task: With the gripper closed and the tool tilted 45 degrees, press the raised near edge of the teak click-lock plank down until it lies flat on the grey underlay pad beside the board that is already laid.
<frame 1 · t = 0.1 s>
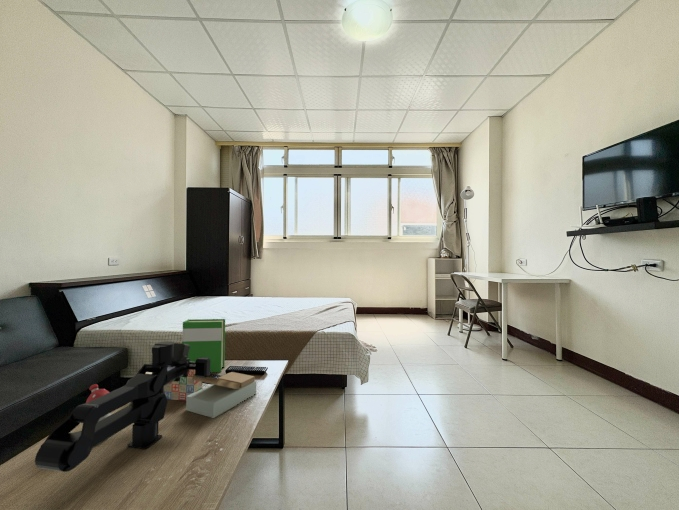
hand: (198, 359, 119), 17 cm above the table, tool horizontal, fingers open, 9 cm apart
decorative ornament: (98, 437, 97), on the table
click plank: (216, 381, 118), point 9 cm above the table, hinge at 26.0°
hardback book: (203, 370, 155), on the table
floor section: (226, 400, 122), on the table
stack of blocks: (172, 396, 126), on the table
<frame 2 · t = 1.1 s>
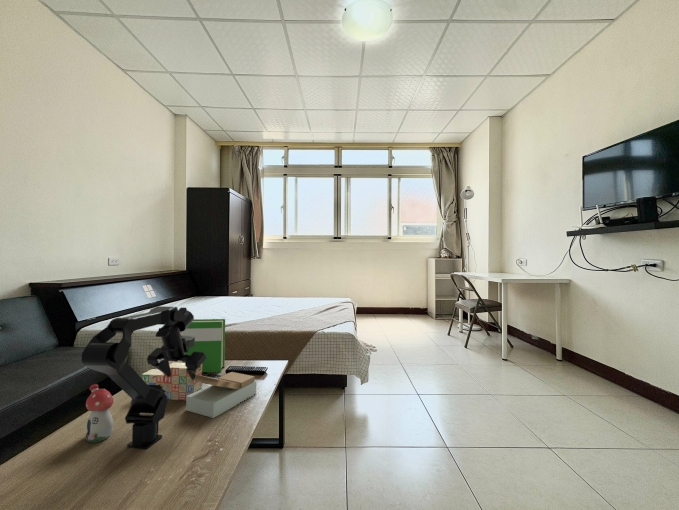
hand: (181, 377, 113), 12 cm above the table, tool tilted 25°, fingers open, 9 cm apart
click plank: (216, 381, 118), point 9 cm above the table, hinge at 25.0°
everything else where it was.
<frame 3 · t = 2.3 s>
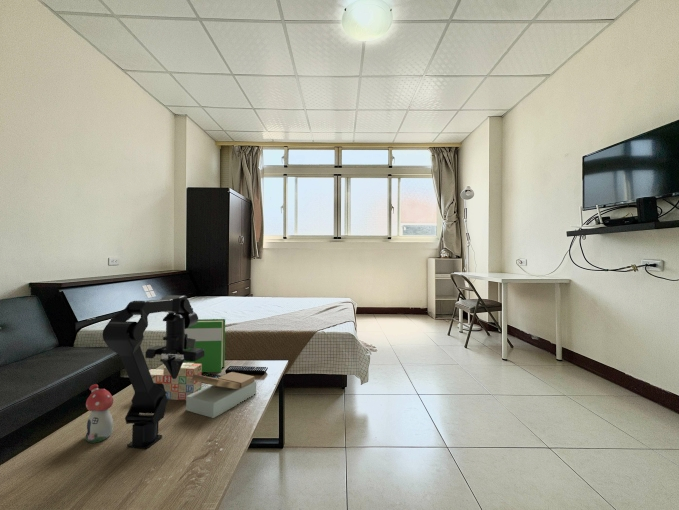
hand: (174, 378, 109), 13 cm above the table, tool pointing down, fingers closed
nothing on the table moved.
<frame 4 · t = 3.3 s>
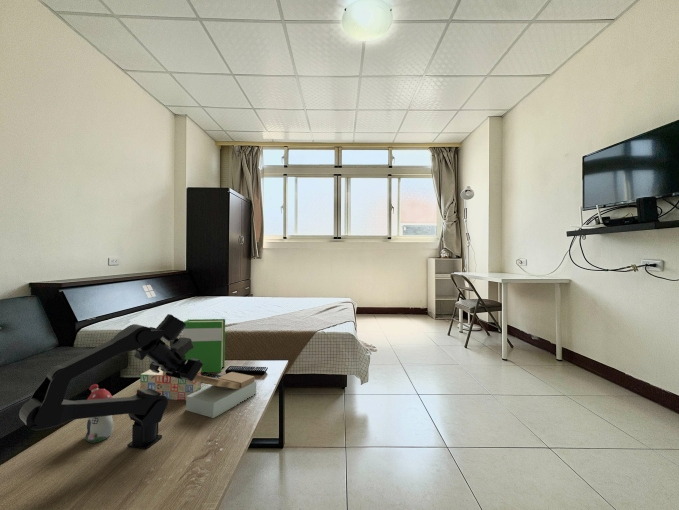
hand: (191, 378, 108), 14 cm above the table, tool tilted 45°, fingers closed
nothing on the table moved.
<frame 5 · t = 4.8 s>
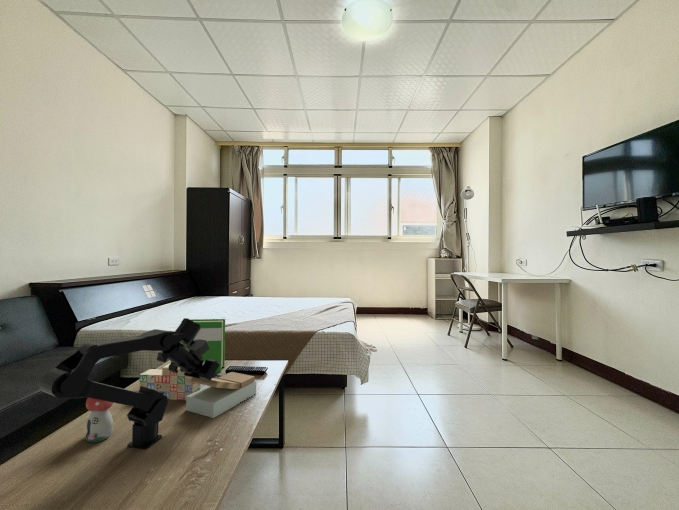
hand: (207, 377, 114), 12 cm above the table, tool tilted 45°, fingers closed, pressing on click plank
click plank: (216, 382, 118), point 8 cm above the table, hinge at 22.3°, touching gripper
everything else where it was.
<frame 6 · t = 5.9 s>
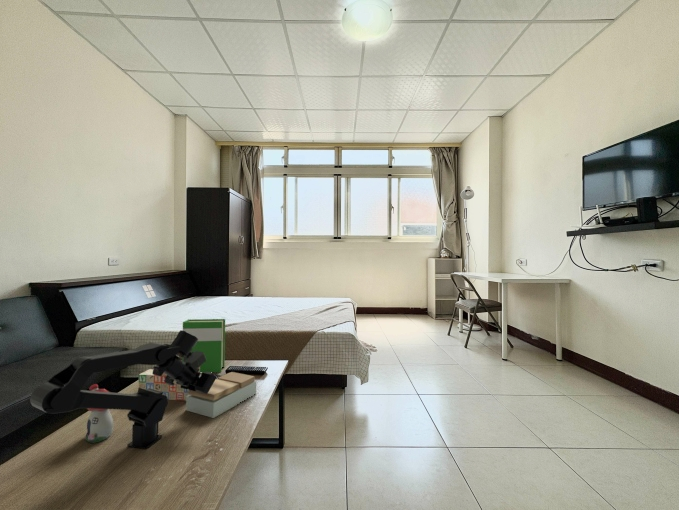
hand: (204, 389, 113), 8 cm above the table, tool tilted 45°, fingers closed, pressing on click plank
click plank: (214, 388, 117), point 6 cm above the table, hinge at 2.0°, touching gripper
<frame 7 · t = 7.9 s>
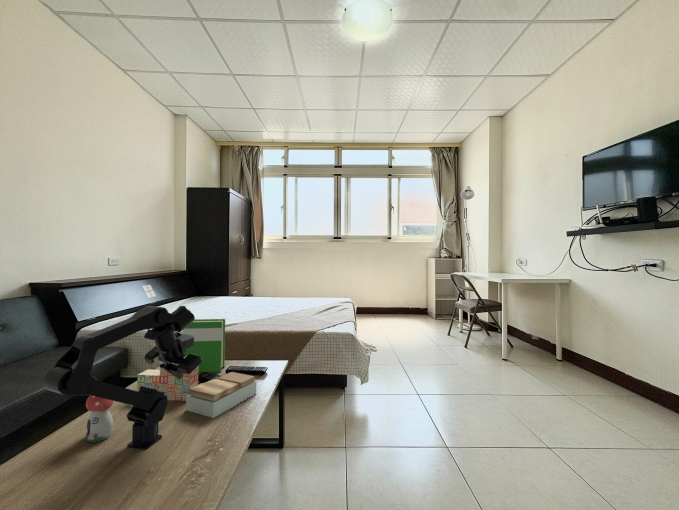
hand: (180, 377, 107), 14 cm above the table, tool tilted 25°, fingers closed
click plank: (214, 389, 117), point 6 cm above the table, hinge at 1.5°
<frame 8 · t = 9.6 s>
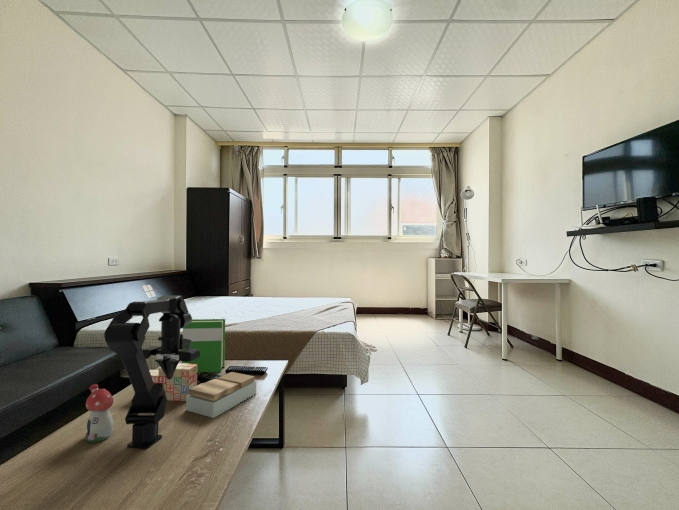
hand: (169, 379, 108), 13 cm above the table, tool pointing down, fingers closed
at the end: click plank at +2° (first picture: +26°) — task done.
